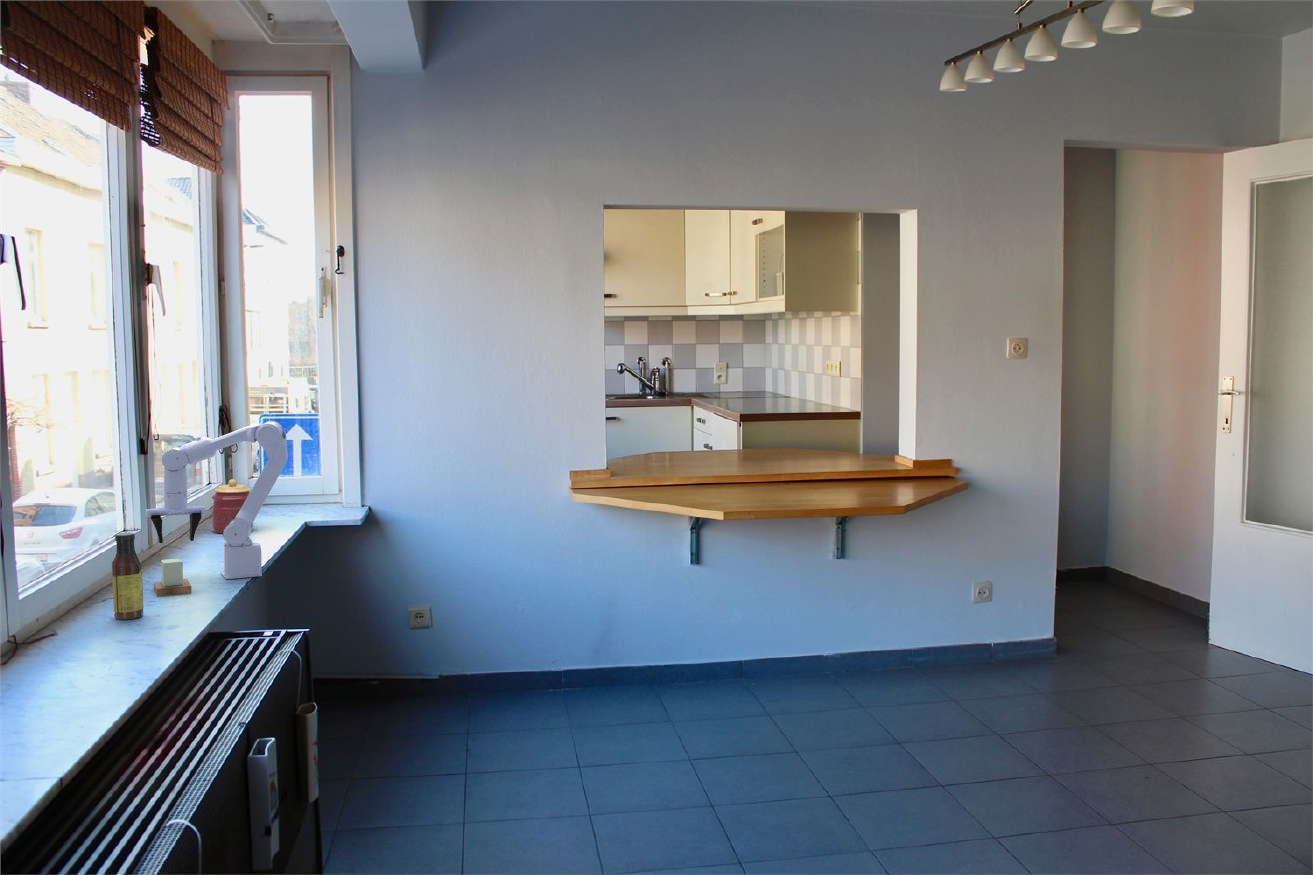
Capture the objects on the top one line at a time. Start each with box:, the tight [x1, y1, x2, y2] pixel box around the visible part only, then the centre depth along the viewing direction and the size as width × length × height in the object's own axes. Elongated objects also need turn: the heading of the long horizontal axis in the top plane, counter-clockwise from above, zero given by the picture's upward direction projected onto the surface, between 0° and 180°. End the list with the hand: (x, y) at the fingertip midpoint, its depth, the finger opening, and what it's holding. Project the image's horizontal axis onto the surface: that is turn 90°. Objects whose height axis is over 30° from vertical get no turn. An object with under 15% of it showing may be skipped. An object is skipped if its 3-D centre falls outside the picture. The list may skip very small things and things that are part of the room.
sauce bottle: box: [111, 531, 144, 620], centre depth 235 cm, size 6×6×20 cm
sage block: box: [160, 557, 184, 586], centre depth 260 cm, size 4×4×6 cm
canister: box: [211, 478, 254, 534], centre depth 340 cm, size 13×13×18 cm
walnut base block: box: [153, 578, 192, 597], centre depth 260 cm, size 8×8×2 cm
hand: (176, 541), depth 274 cm, fingers open, 7 cm apart
